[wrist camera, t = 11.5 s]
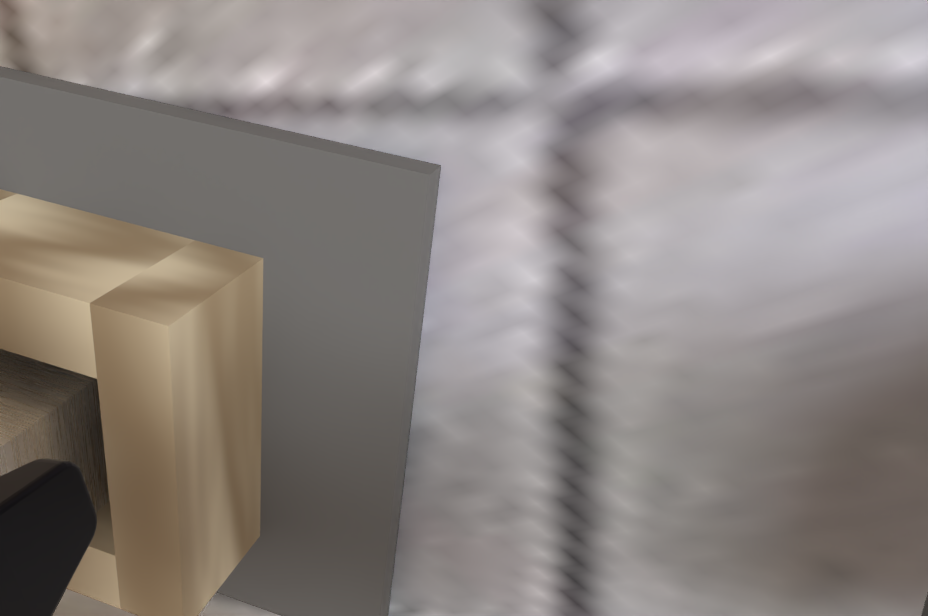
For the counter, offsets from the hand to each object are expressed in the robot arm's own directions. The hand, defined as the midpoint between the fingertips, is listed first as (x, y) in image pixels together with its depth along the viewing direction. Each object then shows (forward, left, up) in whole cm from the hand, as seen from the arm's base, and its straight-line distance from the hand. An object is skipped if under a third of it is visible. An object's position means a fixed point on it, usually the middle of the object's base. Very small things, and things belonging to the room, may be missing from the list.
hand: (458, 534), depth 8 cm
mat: (+13, +8, -12) cm, 19 cm away
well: (+13, +8, -12) cm, 19 cm away
